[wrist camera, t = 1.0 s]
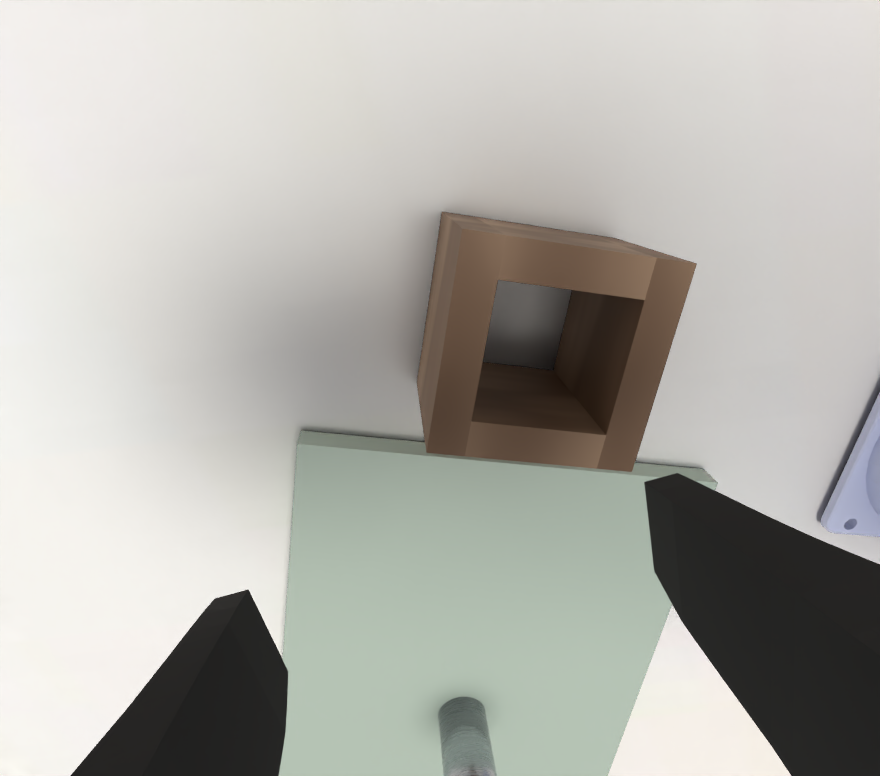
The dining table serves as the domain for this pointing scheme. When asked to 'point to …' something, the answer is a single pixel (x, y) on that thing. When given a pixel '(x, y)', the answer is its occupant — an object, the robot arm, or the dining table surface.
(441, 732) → the grey steel post
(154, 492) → the dining table surface
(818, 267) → the dining table surface
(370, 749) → the sage board
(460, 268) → the walnut collar
